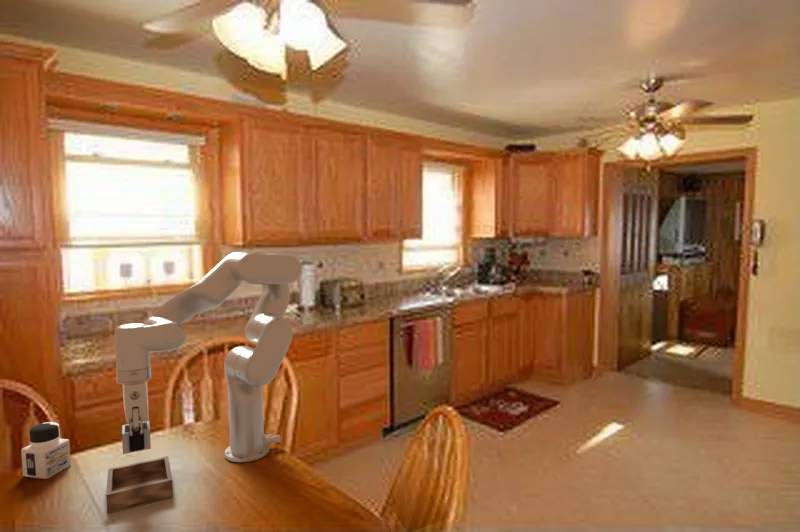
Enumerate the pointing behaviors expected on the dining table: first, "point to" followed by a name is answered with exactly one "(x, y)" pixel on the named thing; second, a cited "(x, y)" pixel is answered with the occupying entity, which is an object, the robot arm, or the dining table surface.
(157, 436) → the dining table surface
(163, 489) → the box
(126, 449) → the small crate
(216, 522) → the dining table surface
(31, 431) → the container
